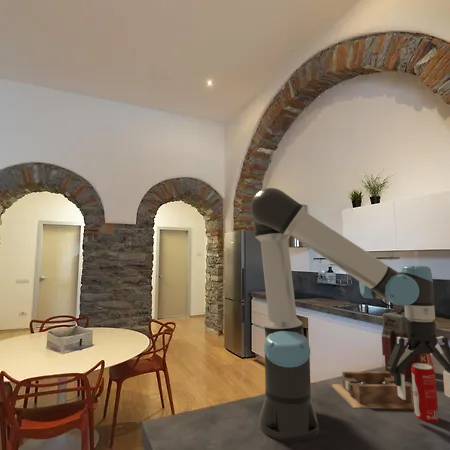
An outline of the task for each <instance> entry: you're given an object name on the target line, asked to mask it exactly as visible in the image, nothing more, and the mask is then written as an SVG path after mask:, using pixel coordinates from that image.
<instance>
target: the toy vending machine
mask: <svg viewBox="0 0 450 450" xmlns="http://www.w3.org/2000/svg"><path fill="white" fill-rule="evenodd" d="M392 309H393V311H394V312H393V311H391V312H384V313H383V314H382V332H381V347H382V349H381V350H382V356H384V371H388V372H390V373H391V377H394V373H393V372H391V371H389V370H388V369H387V368H386V366H387V364H388V361H389V359H390V356H391V354H392V351H393V349H394V347H395V344H396V337H397V336H399V337H401V338H406V337H407V332H406V323H405V320H406V319H407V318H406V317H405V307H404V306H402V305H395V304H393V303H392ZM407 346H408V344H407V343H406V345H405V346H404V350H403V352H402V355H403V354H404V352H405V349H406V348H407ZM411 351H412V350H411ZM402 355H401V356H402ZM400 358H401V357H400ZM413 363H421V361H420V354H418V353H417V354H416V356H414V357H413V358H412V359H411V361H410V362H409V363H408V365H407V366H406V368H405V369H404V370H403V372H402V374H403V375H404V378H405V381H412V374H411V368H412V364H413Z"/></svg>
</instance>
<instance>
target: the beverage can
mask: <svg viewBox="0 0 450 450" xmlns="http://www.w3.org/2000/svg"><path fill="white" fill-rule="evenodd" d="M435 371H436V370H435ZM435 371H434V369H433V367H432V366H431V365H429V364H426V363H413V364H412V368H411V374H412V380H411V383H412V386H411V387H412V395H413V396H412V397H413V398H414V416H415V418H417V419H419V420H420V421H424V422H428V423H438V422H439V421H440V415H439V404H438V394H437V393H438V392H437V383H436V373H435Z"/></svg>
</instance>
